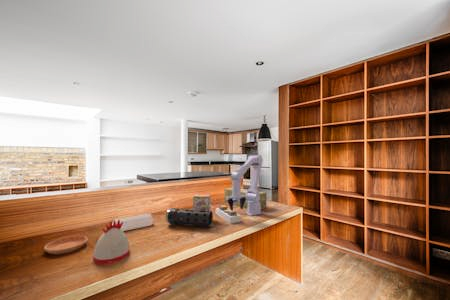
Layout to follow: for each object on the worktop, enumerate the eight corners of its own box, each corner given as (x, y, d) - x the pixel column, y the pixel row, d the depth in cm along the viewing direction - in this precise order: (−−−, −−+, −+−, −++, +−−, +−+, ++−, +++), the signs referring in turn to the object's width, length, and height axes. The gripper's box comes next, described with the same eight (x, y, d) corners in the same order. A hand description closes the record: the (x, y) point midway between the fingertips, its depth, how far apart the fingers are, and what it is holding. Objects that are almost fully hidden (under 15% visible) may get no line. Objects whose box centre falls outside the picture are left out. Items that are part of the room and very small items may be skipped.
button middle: (228, 213, 142) (228, 209, 142) (231, 215, 138) (231, 210, 138) (223, 214, 140) (223, 210, 140) (226, 216, 136) (226, 211, 136)
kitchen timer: (134, 254, 87) (135, 220, 87) (99, 267, 77) (100, 229, 77) (122, 245, 96) (122, 214, 97) (89, 255, 86) (89, 221, 86)
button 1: (224, 209, 148) (224, 205, 148) (227, 210, 144) (227, 206, 144) (219, 210, 146) (219, 205, 146) (221, 211, 142) (221, 207, 142)
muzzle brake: (208, 231, 114) (208, 213, 115) (164, 227, 120) (164, 210, 120) (212, 225, 124) (213, 208, 124) (171, 222, 129) (172, 206, 130)
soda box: (266, 208, 163) (266, 192, 163) (255, 211, 155) (255, 194, 155) (235, 199, 195) (235, 186, 195) (224, 201, 186) (224, 188, 187)
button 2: (233, 214, 135) (233, 209, 136) (236, 216, 131) (236, 211, 132) (227, 215, 134) (227, 210, 134) (230, 217, 130) (230, 212, 130)
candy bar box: (192, 220, 132) (192, 196, 132) (194, 218, 137) (194, 194, 137) (209, 221, 131) (209, 196, 131) (210, 218, 136) (210, 195, 136)
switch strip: (225, 212, 151) (225, 207, 151) (240, 221, 130) (240, 215, 130) (215, 213, 148) (215, 208, 148) (230, 223, 126) (230, 217, 126)
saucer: (81, 238, 104) (82, 232, 105) (92, 247, 94) (92, 241, 94) (41, 249, 92) (41, 243, 92) (47, 261, 82) (48, 253, 82)
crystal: (151, 215, 131) (109, 222, 117) (153, 212, 126) (111, 219, 112) (152, 227, 128) (110, 235, 113) (155, 224, 123) (111, 233, 109)
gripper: (229, 191, 128) (229, 212, 127) (248, 189, 134) (248, 209, 134) (225, 189, 134) (225, 209, 134) (243, 188, 140) (243, 207, 140)
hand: (236, 209), depth 134 cm, fingers open, 7 cm apart
